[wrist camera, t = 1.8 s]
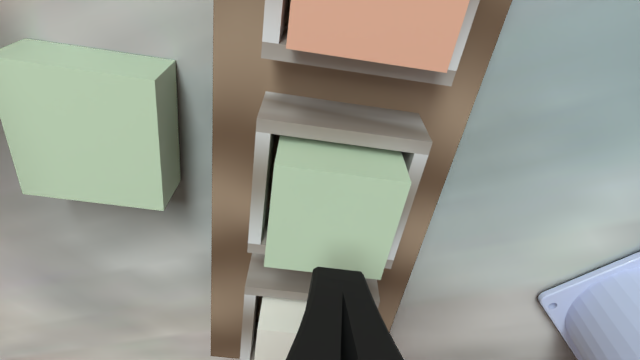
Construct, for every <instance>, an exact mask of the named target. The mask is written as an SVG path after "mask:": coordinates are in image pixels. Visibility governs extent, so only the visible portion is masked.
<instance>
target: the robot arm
mask: <svg viewBox="0 0 640 360" xmlns="http://www.w3.org/2000/svg"><path fill="white" fill-rule="evenodd" d="M538 300H539V302H540V304H541V305H542V307H543V308H544V310H545V311H546V313H547V314H548V316H549V317H550V319H551V320H552V322H553V323H554V325H555V326H556V328H557V329H558V331H559V332H560V334H561V335H562V337H563V338H564V340H565V341H566V343H567V344H568V346H569V347H570V349H571V350H572V352H573V353H574V355H575V356H576V358H577V359H578V360H640V252H637V253H635V254H632V255H630V256H628V257H625V258H623V259H621V260H618V261H616V262H613V263H611V264H609V265H606V266H604V267H601V268H599V269H597V270H594V271H592V272H589V273H587V274H585V275H582V276H580V277H578V278H575V279H573V280H570V281H568V282H566V283H563V284H561V285H558V286H556V287H554V288H551V289H549V290H546V291H544V292H542V293H541V294H540V295H539V297H538ZM286 360H404V359H403V357H402V356H401V354H400V352H399V350H398V348H397V346H396V345H395V343H394V341H393V339H392V337H391V335H390V333H389V331H388V329H387V327H386V325H385V323H384V321H383V319H382V317H381V315H380V313H379V310H378V308H377V306H376V304H375V301H374V299H373V297H372V294H371V292H370V290H369V287H368V285H367V282H366V279H365V277H364V274H363V273H362V272H361V271H352V270H343V269H334V268H326V267H316V268H314V269H313V272H312V277H311V283H310V288H309V293H308V298H307V303H306V309H305V312H304V315H303V318H302V321H301V324H300V327H299V329H298V332H297V334H296V337H295V339H294V341H293V344H292V346H291V348H290V351H289V353H288V355H287V358H286Z"/></svg>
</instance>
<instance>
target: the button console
mask: <svg viewBox="0 0 640 360" xmlns="http://www.w3.org/2000/svg"><path fill="white" fill-rule="evenodd" d="M511 2H512V0H470V1H469V5H468V8H467V11H466V14H465V17H464V20H463V23H462V27H461V30H460V33H459V36H458V39H457V42H456V45H455V48H454V52H453V55H452V58H451V61H450V64H449V67H448V70H447V73H443V72H437V71H430V70H423V69H417V68H410V67H404V66H397V65H390V64H384V63H377V62H370V61H364V60H357V59H351V58H344V57H337V56H331V55H324V54H318V53H311V52H304V51H298V50H291V49H286V43H287V33H288V23H289V13H290V3H291V0H214V17H213V144H212V271H211V356H217V357H227V358H238V359H240V360H254V358H255V348H256V338H257V329H258V322H259V316H260V310H261V304H262V298H263V296H264V297H273V298H282V299H292V300H301V301H307V298H308V293H309V288H310V283H311V277H312V272H305V271H297V270H288V269H279V268H270V267H264V259H265V249H266V240H267V230H268V220H269V210H270V200H271V190H272V181H273V171H274V163H275V158H276V153H277V148H278V143H279V138H280V135H284V136H291V137H299V138H306V139H313V140H321V141H328V142H335V143H343V144H350V145H357V146H365V147H372V148H379V149H387V150H394V151H401V152H402V155H403V158H404V161H405V164H406V167H407V171H408V174H409V177H410V180H411V186H410V189H409V193H408V196H407V199H406V202H405V205H404V208H403V211H402V215H401V218H400V221H399V224H398V227H397V230H396V233H395V236H394V240H393V243H392V246H391V249H390V252H389V255H388V258H387V261H386V265H385V268H384V271H383V274H382V277H381V280H376V279H367V278H365V279H366V282H367V285H368V287H369V290H370V292H371V294H372V297H373V299H374V301H375V304H376V306H377V308H378V310H379V313H380V315H381V317H382V319H383V321H384V323H385V325H386V327H387V329H388V331H390V328H391V326H392V323H393V320H394V318H395V315H396V312H397V310H398V307H399V304H400V301H401V299H402V296H403V293H404V291H405V288H406V285H407V283H408V280H409V277H410V274H411V272H412V269H413V266H414V264H415V261H416V258H417V256H418V253H419V250H420V247H421V245H422V242H423V239H424V237H425V234H426V231H427V229H428V226H429V223H430V220H431V218H432V215H433V212H434V210H435V207H436V204H437V202H438V199H439V196H440V194H441V191H442V188H443V185H444V183H445V180H446V177H447V175H448V172H449V169H450V167H451V164H452V161H453V158H454V156H455V153H456V150H457V148H458V145H459V142H460V140H461V137H462V134H463V131H464V129H465V126H466V123H467V121H468V118H469V115H470V113H471V110H472V107H473V104H474V102H475V99H476V96H477V94H478V91H479V88H480V86H481V83H482V80H483V77H484V75H485V72H486V69H487V67H488V64H489V61H490V59H491V56H492V53H493V50H494V48H495V45H496V42H497V40H498V37H499V34H500V32H501V29H502V26H503V23H504V21H505V18H506V15H507V13H508V10H509V7H510V5H511Z"/></svg>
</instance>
